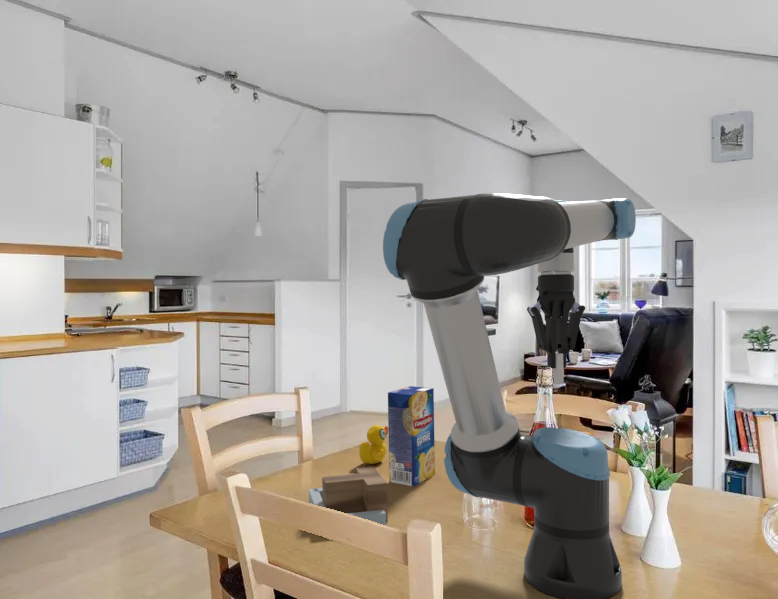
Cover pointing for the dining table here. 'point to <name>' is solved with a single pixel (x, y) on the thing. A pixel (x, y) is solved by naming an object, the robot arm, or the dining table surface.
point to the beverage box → (411, 435)
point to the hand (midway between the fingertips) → (557, 383)
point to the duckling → (374, 445)
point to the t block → (356, 491)
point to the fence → (375, 516)
